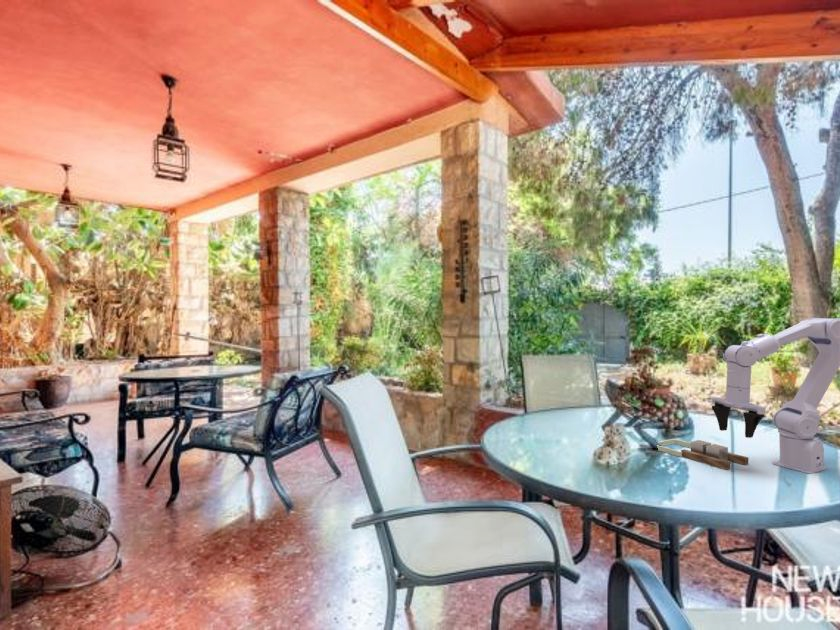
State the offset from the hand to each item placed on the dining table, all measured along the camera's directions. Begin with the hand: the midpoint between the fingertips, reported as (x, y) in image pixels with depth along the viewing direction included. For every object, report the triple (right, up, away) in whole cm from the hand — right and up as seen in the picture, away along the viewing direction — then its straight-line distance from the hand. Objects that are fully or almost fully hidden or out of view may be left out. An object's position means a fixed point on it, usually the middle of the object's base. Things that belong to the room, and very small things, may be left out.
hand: (735, 433), depth 134 cm
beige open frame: (-7, -10, +17) cm, 21 cm away
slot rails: (-2, -10, +6) cm, 12 cm away
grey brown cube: (-2, -10, +5) cm, 11 cm away
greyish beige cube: (-4, -10, +10) cm, 14 cm away
